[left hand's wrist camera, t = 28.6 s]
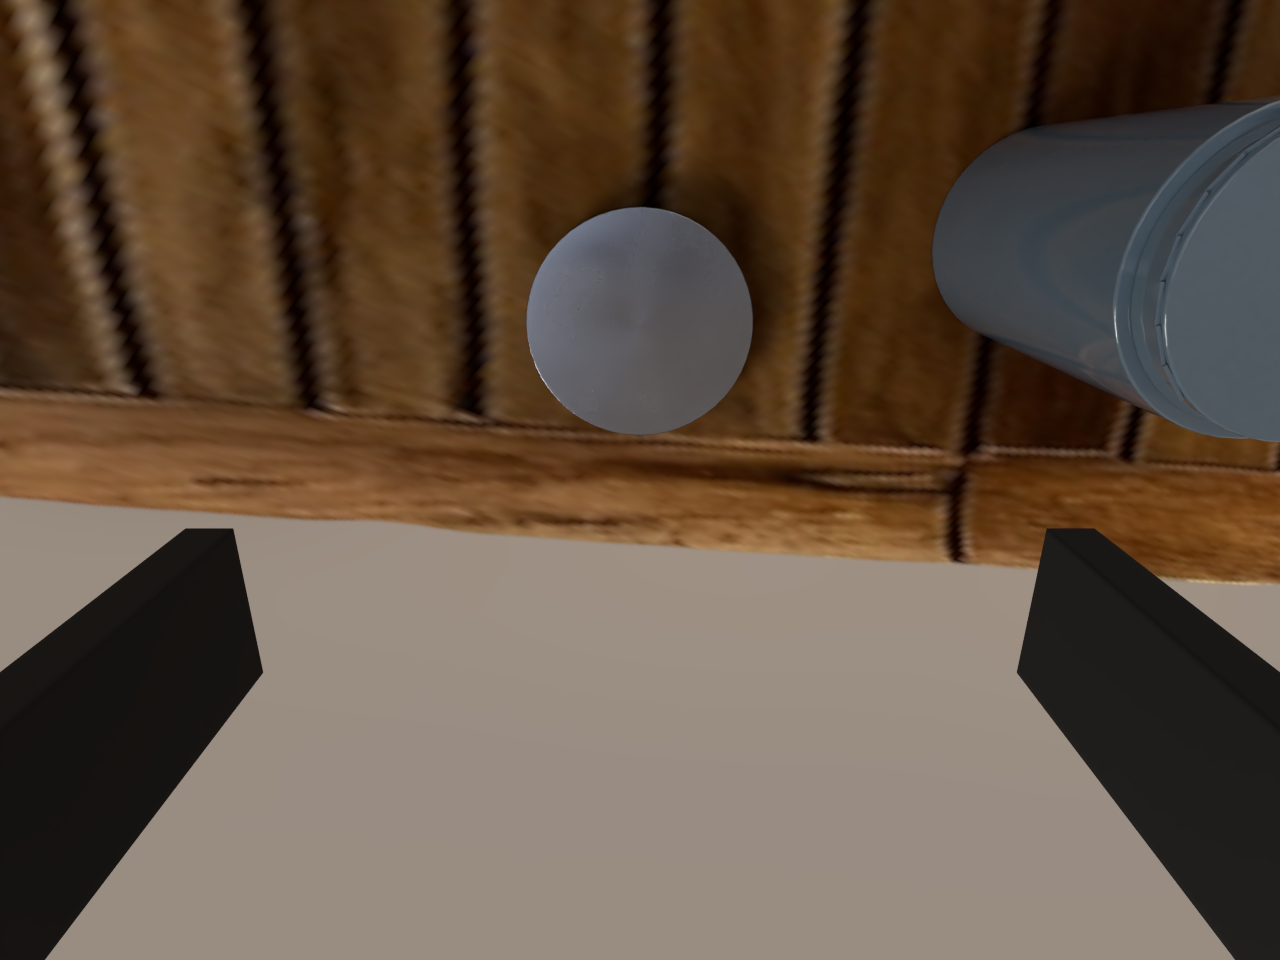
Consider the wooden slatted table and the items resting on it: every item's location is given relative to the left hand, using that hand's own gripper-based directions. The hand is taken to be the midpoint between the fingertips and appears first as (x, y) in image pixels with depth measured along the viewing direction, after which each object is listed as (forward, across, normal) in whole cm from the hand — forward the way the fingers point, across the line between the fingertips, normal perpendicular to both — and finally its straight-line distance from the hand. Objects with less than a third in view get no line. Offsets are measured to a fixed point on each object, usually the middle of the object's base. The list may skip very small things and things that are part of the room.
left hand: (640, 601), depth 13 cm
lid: (+26, 0, 0) cm, 26 cm away
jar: (+28, +19, +4) cm, 34 cm away
